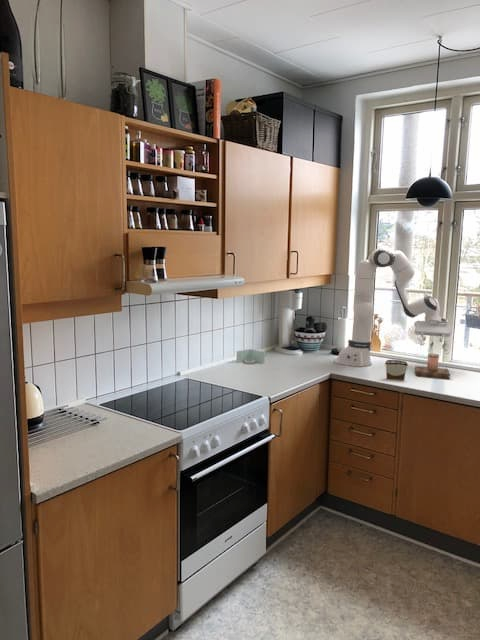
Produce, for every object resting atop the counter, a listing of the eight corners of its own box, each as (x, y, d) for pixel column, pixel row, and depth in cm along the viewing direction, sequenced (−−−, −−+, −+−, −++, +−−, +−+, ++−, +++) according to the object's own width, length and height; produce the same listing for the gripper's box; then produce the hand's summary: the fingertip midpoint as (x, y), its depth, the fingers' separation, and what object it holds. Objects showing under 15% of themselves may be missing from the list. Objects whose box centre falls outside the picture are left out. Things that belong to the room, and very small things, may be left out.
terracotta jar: (427, 370, 291) (428, 355, 289) (426, 368, 296) (427, 353, 295) (438, 371, 289) (439, 355, 288) (436, 369, 295) (438, 354, 294)
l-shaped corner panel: (236, 363, 308) (236, 351, 307) (250, 360, 317) (250, 348, 316) (250, 367, 300) (251, 354, 299) (264, 364, 308) (265, 352, 307)
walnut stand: (415, 376, 289) (416, 371, 289) (414, 370, 302) (414, 366, 301) (449, 379, 285) (450, 374, 284) (447, 373, 297) (447, 368, 297)
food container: (404, 377, 285) (405, 360, 284) (406, 380, 279) (408, 362, 278) (381, 376, 286) (383, 358, 285) (383, 379, 280) (385, 361, 279)
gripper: (414, 317, 309) (414, 336, 301) (451, 320, 304) (451, 339, 296) (413, 323, 314) (413, 342, 306) (449, 326, 309) (449, 345, 301)
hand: (432, 340), depth 301 cm, fingers open, 8 cm apart
